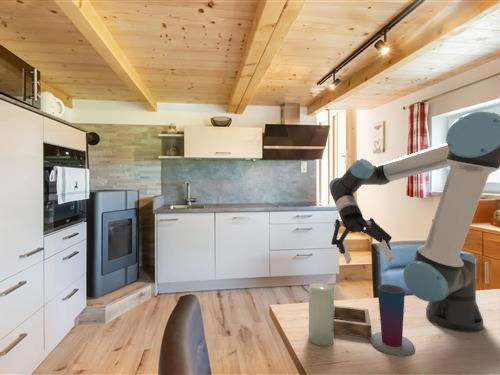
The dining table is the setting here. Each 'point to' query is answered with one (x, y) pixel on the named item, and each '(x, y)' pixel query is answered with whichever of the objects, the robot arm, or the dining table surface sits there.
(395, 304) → the cup
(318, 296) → the pillar candle
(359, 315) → the wooden tray box
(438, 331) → the dining table surface
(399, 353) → the felt pad
